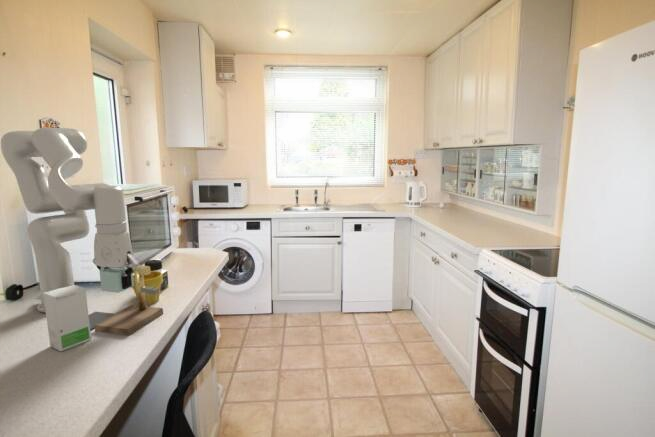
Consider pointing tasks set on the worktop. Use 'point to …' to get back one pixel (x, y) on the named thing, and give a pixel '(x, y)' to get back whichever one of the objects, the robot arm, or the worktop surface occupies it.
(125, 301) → the worktop surface
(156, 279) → the plant pot
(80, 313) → the skincare box
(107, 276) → the mint green cube
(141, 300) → the t key
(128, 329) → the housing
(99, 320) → the mat
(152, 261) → the medicine bottle
